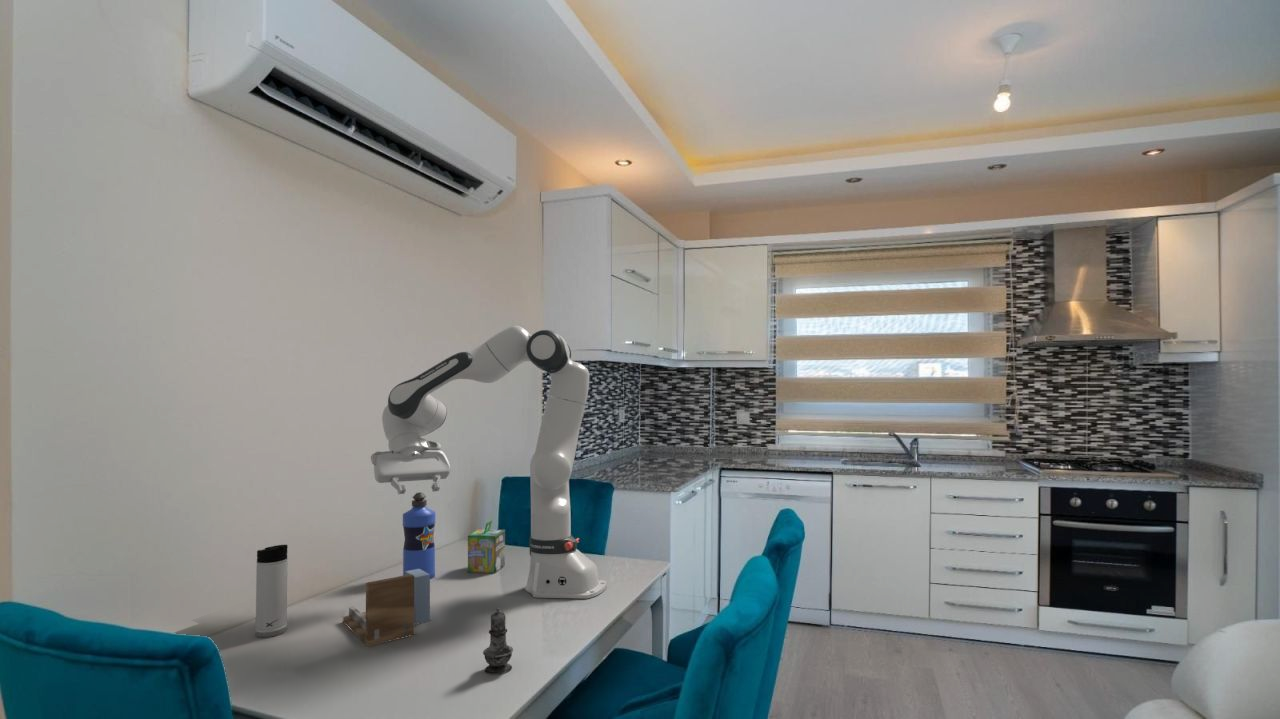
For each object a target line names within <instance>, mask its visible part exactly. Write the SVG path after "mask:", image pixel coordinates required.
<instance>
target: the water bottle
mask: <svg viewBox="0 0 1280 719" xmlns="http://www.w3.org/2000/svg"><path fill="white" fill-rule="evenodd" d="M426 498H427V496H426V495H425V493H423V492H416V493H415V494H414V495H413V496H412V500H411V508H410V510H408V511H406V512H404V513H402V527H403V534H404V543H403V548H402V549H403V550H402V552H403V553H402V576H404V575H405V571H409V570H415V569H421V570H423V571H424V572H426V573H428V574H430V580H432V579H434V578H435V577H436V547H435V539H434V533H435V528H436V526H435V525H436V511H435V510H433V509H430V508H428V507H427V503H428V502H427V499H426Z"/></svg>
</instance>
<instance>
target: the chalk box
mask: <svg viewBox="0 0 1280 719" xmlns="http://www.w3.org/2000/svg"><path fill="white" fill-rule="evenodd" d="M492 522H493V520H492V519H491V520H489V521H487V522H486V524H485V528H477V529H476V530H474V531H472V532H471V533H470V534H469V535H467V573H472V574H473V573H477V574H480V573H481V574H496V573H497V572H498V571H500V570H502V568H504V567H505V565H506V562H505V561H506V558H505V556H506V553H505V552H506V549H505V548H506V529H496V528H495V529H494V528H493V529H492Z"/></svg>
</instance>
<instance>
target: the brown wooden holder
mask: <svg viewBox="0 0 1280 719" xmlns="http://www.w3.org/2000/svg"><path fill="white" fill-rule="evenodd" d="M342 618H343V619H342V621H344V622H345V623H346V624H347V625H348V626H349V627H350V628H351V629H352V630H353V631H354V632H355V633H356V634H357V635H356V634H355V633H354V632H353V631H352V630H351V629H350V628H349V627H348V626H347V625H346V624H345V623H344V622H343V623H344V624H345V625H346V626H347V627H348V628H349V629H350V630H351V631H352V632H353V633H354V634H355V635H356V636H357V637H358V638H359V639H360V640H361V641H362V642H363V643H364V644H365V643H366V644H365V645H366V646H367V647H373V646H376V645H379V644H378V643H380V644H384V643H387V642H386V641H388V642H390V641H389V640H392V641H395V640H394V639H396V640H398V639H397V638H400V639H403V638H402V637H404V638H407V637H406V636H408V637H410V636H409V635H412V636H415V624H414V575H412V574H409V575H404V576H403V575H399V576H393V577H389V578H384V579H378V580H374V581H368V582H365V612H361V611H360V610H358V609H357V608H356V607H355V606H353V605H352V606H349V607H348V615H345V616H343V617H342ZM383 642H384V643H383ZM375 644H376V645H375Z"/></svg>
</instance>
